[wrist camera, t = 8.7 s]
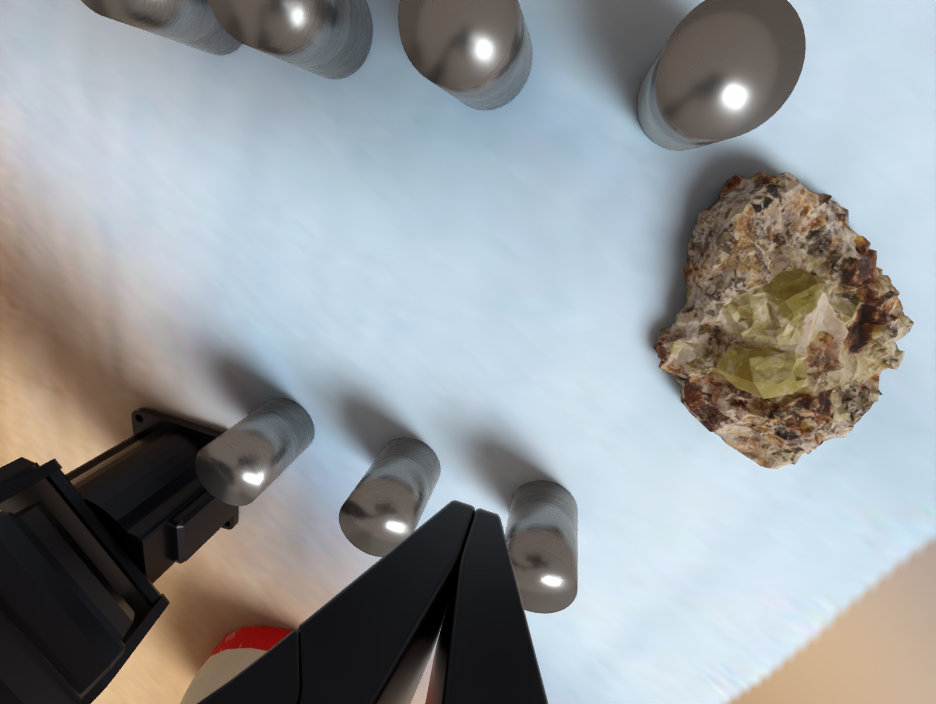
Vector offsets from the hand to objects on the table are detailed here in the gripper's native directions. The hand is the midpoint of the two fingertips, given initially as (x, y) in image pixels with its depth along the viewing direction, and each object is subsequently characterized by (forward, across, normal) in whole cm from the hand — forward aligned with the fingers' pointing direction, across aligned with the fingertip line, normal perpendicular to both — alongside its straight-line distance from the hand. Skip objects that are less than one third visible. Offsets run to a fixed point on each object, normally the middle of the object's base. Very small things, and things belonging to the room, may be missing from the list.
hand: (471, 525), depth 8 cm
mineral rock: (+13, -8, -2) cm, 15 cm away
